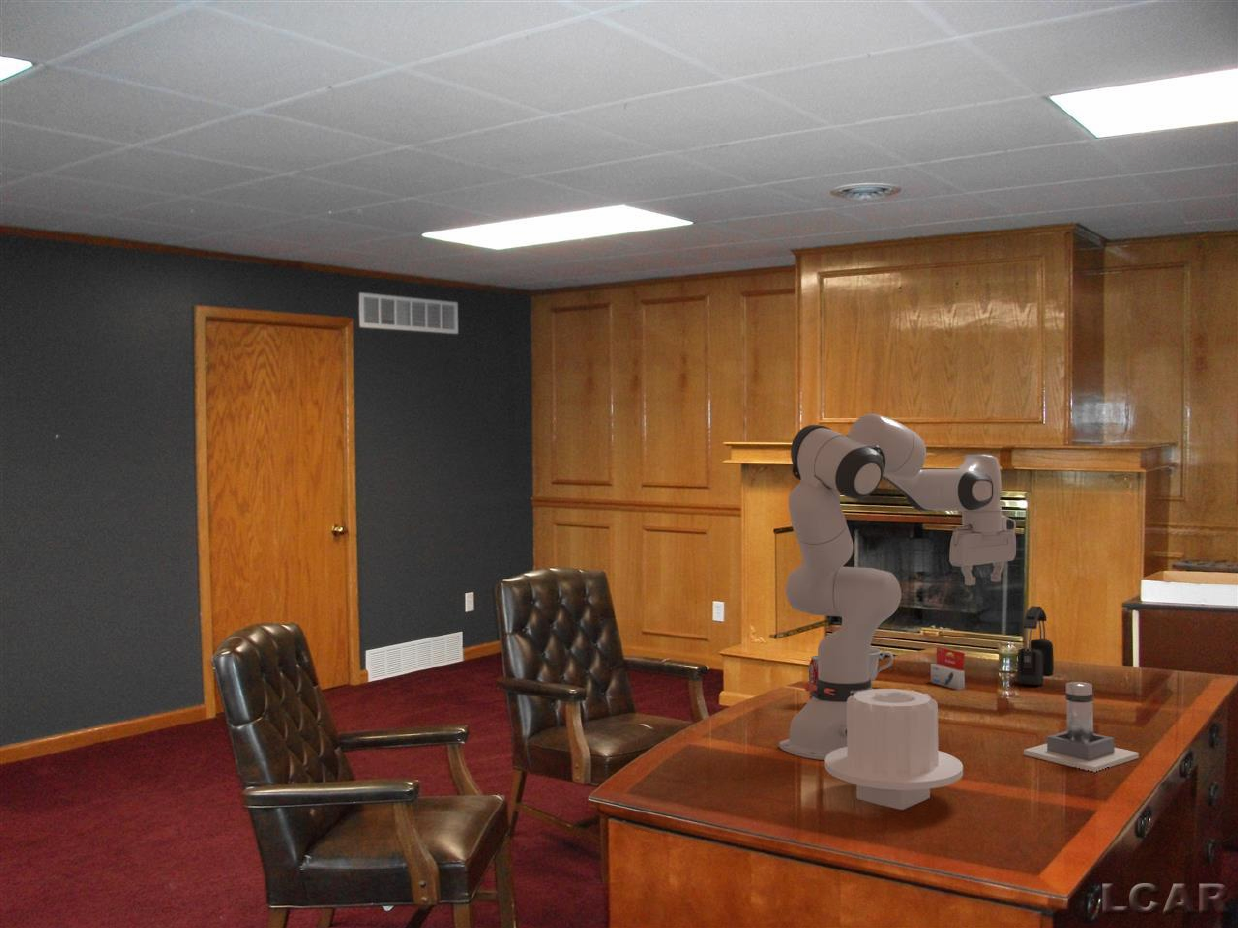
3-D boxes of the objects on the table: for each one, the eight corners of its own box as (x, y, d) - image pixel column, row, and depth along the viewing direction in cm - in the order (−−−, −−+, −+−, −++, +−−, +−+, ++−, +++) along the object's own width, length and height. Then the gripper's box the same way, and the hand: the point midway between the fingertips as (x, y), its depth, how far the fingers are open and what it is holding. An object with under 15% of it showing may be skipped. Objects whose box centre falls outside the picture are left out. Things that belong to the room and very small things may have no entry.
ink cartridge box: (958, 690, 292) (958, 653, 292) (930, 682, 302) (929, 647, 302) (965, 689, 293) (965, 652, 293) (937, 681, 303) (936, 646, 303)
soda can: (830, 709, 274) (829, 661, 274) (804, 705, 279) (803, 658, 278) (842, 703, 280) (841, 656, 280) (817, 700, 284) (816, 653, 284)
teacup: (894, 692, 291) (894, 654, 291) (837, 691, 294) (836, 653, 294) (892, 682, 303) (892, 646, 302) (837, 681, 306) (836, 645, 305)
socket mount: (1094, 772, 219) (1094, 752, 219) (1023, 754, 232) (1023, 735, 232) (1138, 757, 228) (1138, 738, 228) (1068, 741, 241) (1068, 723, 241)
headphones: (1040, 688, 293) (1039, 613, 293) (1015, 685, 296) (1014, 611, 296) (1055, 672, 312) (1054, 602, 311) (1032, 670, 315) (1031, 600, 315)
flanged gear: (798, 799, 206) (796, 698, 205) (872, 770, 223) (870, 677, 223) (918, 831, 188) (916, 721, 187) (988, 796, 205) (986, 695, 205)
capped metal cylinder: (1085, 756, 226) (1083, 688, 226) (1061, 750, 230) (1059, 684, 230) (1099, 751, 229) (1098, 684, 229) (1076, 746, 234) (1074, 680, 233)
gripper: (964, 526, 247) (965, 588, 247) (1020, 521, 259) (1021, 580, 259) (941, 525, 252) (942, 585, 252) (997, 520, 264) (998, 578, 264)
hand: (983, 583), depth 256 cm, fingers open, 8 cm apart
